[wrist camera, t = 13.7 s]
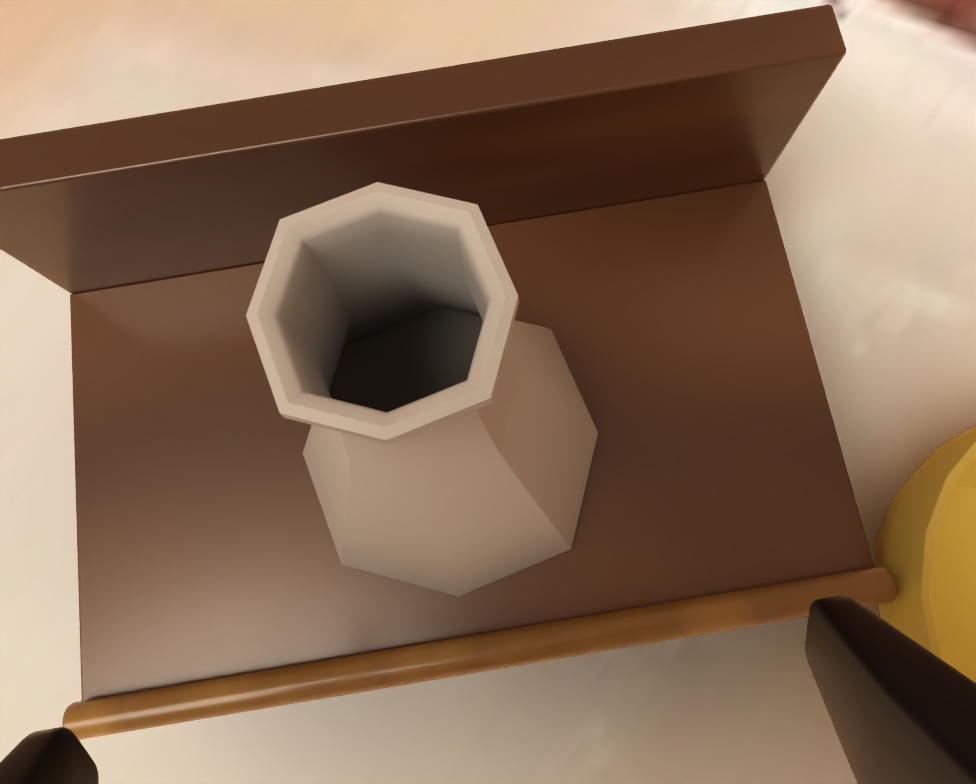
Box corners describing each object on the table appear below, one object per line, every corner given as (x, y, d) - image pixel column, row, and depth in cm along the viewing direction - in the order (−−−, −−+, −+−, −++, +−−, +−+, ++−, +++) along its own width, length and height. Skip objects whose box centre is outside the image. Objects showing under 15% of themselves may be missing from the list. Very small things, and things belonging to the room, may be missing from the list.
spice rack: (815, 595, 21) (1032, 612, 12) (162, 705, 21) (-91, 804, 12) (715, 209, 24) (833, 1, 15) (140, 304, 24) (-76, 149, 15)
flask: (307, 606, 17) (50, 652, 8) (304, 317, 19) (91, 59, 9) (611, 585, 17) (739, 606, 8) (582, 297, 19) (656, 14, 9)
